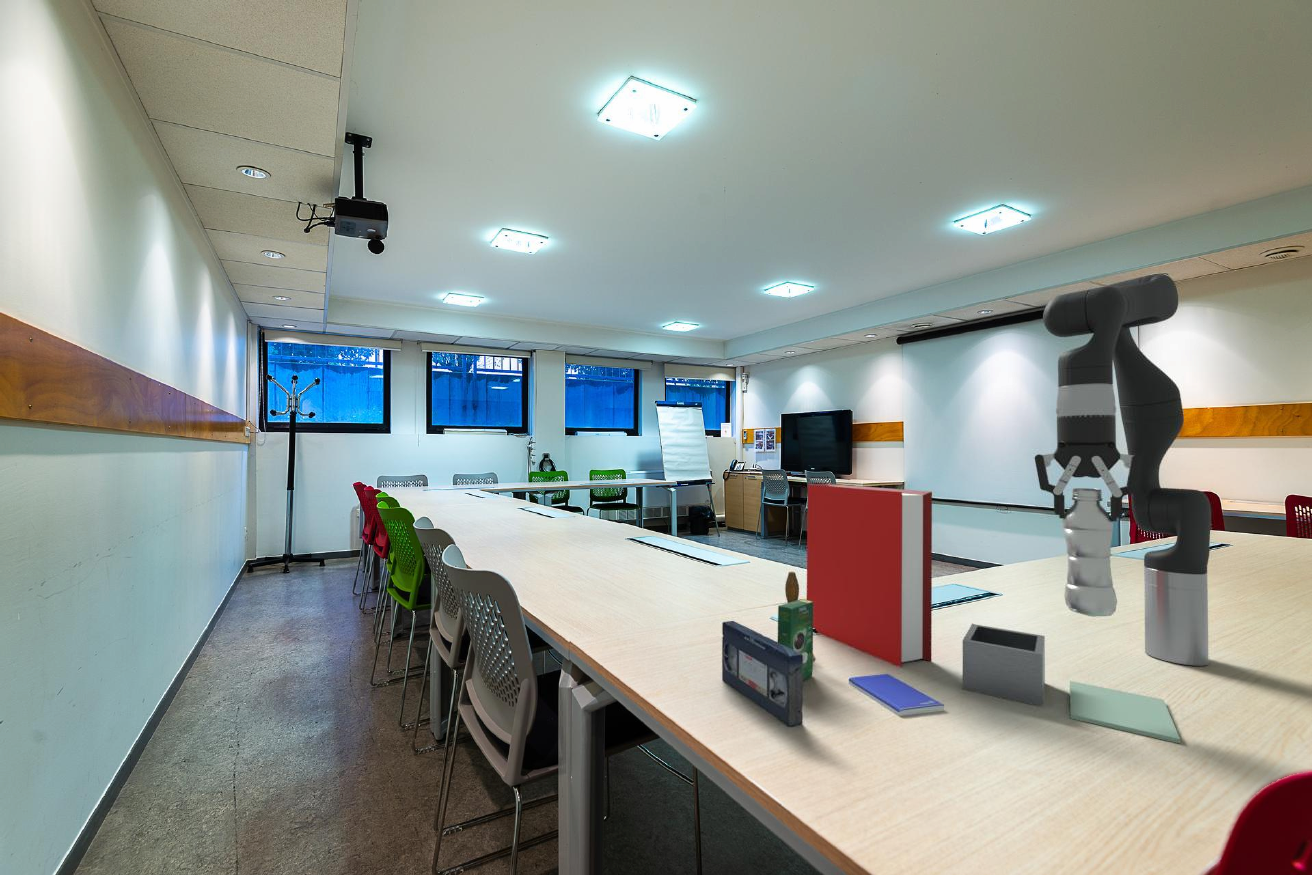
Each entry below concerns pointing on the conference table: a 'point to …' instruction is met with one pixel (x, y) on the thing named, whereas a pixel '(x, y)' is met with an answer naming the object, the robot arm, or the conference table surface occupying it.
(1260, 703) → the conference table surface
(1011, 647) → the sleeve
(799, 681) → the vhs cassette tape
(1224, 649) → the conference table surface
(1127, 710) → the mat
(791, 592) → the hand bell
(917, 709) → the hard drive
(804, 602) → the coffee box
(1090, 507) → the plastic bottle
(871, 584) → the book
